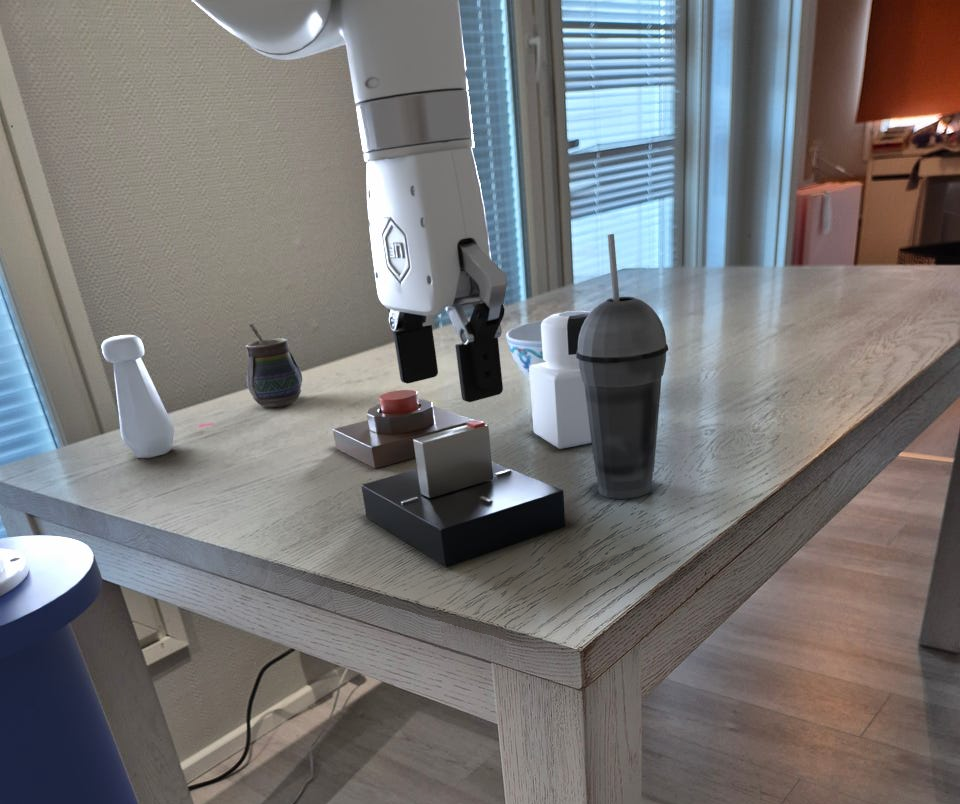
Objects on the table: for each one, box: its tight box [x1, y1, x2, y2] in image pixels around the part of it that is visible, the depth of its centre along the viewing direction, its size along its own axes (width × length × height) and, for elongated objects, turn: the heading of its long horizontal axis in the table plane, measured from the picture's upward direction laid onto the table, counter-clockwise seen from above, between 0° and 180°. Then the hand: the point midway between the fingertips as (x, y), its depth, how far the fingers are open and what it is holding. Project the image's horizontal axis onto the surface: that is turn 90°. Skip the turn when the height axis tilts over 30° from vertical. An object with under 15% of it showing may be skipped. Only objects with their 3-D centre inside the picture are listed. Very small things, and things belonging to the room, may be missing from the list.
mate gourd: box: [245, 323, 303, 409], centre depth 114 cm, size 7×8×10 cm
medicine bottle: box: [529, 310, 592, 450], centre depth 86 cm, size 7×7×12 cm
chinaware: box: [505, 319, 546, 381], centre depth 102 cm, size 15×15×8 cm
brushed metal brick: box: [413, 419, 493, 498], centre depth 69 cm, size 6×2×5 cm, turn 122°
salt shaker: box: [101, 334, 175, 459], centre depth 97 cm, size 6×6×13 cm
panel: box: [360, 461, 566, 568], centre depth 71 cm, size 11×14×3 cm
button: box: [378, 389, 419, 414], centre depth 91 cm, size 4×4×2 cm
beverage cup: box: [576, 233, 669, 500], centre depth 69 cm, size 7×7×20 cm
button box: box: [332, 398, 475, 469], centre depth 92 cm, size 12×10×4 cm
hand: (449, 388), depth 66 cm, fingers open, 9 cm apart
